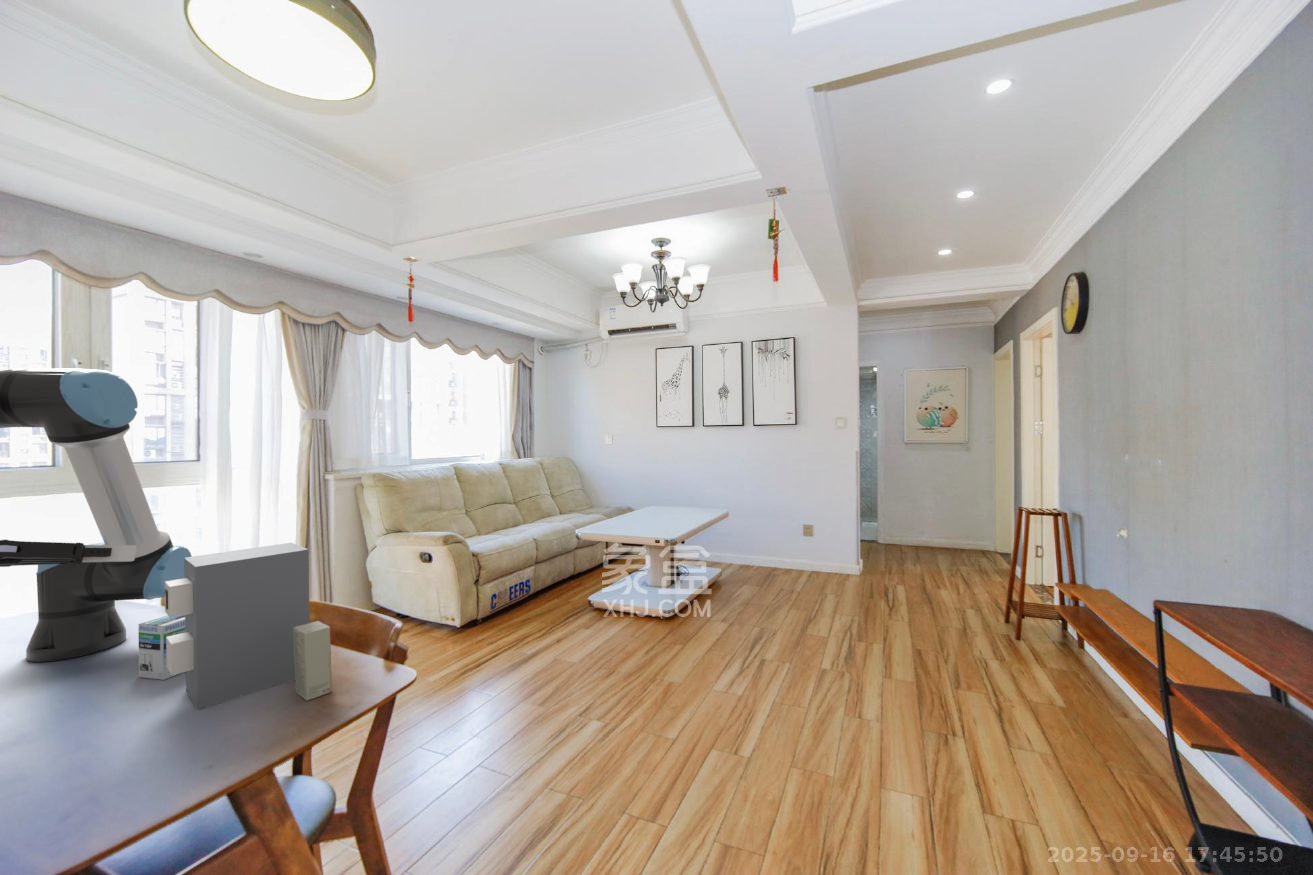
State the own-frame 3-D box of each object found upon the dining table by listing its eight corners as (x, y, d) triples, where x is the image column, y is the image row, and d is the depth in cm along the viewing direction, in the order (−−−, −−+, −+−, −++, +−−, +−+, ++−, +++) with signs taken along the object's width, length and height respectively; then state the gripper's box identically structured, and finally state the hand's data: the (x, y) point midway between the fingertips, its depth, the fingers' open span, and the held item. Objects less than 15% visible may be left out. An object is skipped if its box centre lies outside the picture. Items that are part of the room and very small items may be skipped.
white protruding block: (163, 611, 93) (163, 581, 93) (208, 602, 97) (208, 574, 97) (168, 618, 89) (167, 587, 89) (215, 608, 94) (214, 579, 94)
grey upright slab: (186, 690, 97) (184, 557, 97) (293, 659, 110) (291, 542, 110) (197, 709, 90) (195, 566, 90) (310, 674, 103) (308, 549, 103)
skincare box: (333, 692, 96) (332, 626, 96) (305, 702, 92) (304, 634, 92) (320, 682, 100) (319, 619, 100) (293, 691, 96) (292, 626, 96)
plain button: (166, 666, 93) (166, 636, 93) (210, 655, 98) (209, 627, 98) (171, 675, 89) (171, 644, 89) (216, 663, 94) (215, 633, 94)
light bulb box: (163, 680, 101) (162, 626, 101) (136, 678, 103) (135, 623, 102) (219, 657, 112) (218, 607, 112) (194, 655, 113) (193, 606, 113)
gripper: (-109, 586, 75) (116, 578, 95) (-91, 576, 69) (145, 570, 89) (-95, 534, 77) (123, 537, 97) (-75, 520, 71) (152, 526, 91)
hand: (133, 553), depth 93 cm, fingers closed
